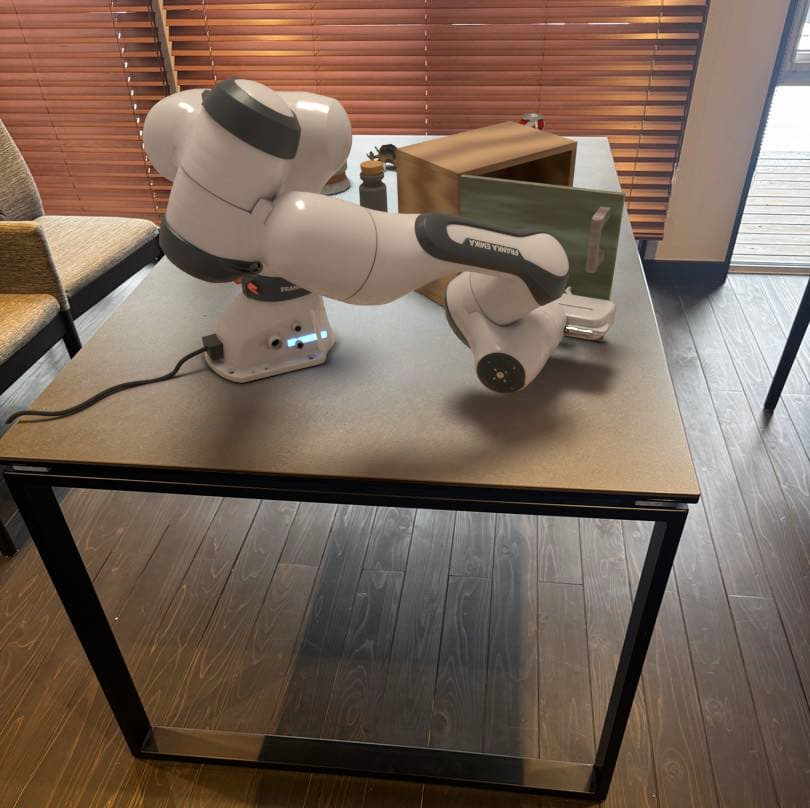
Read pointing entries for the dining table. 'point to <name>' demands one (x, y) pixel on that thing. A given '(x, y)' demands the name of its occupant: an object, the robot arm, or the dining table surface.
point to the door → (555, 223)
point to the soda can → (533, 121)
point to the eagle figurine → (384, 155)
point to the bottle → (373, 186)
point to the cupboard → (477, 170)
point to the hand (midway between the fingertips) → (562, 289)
